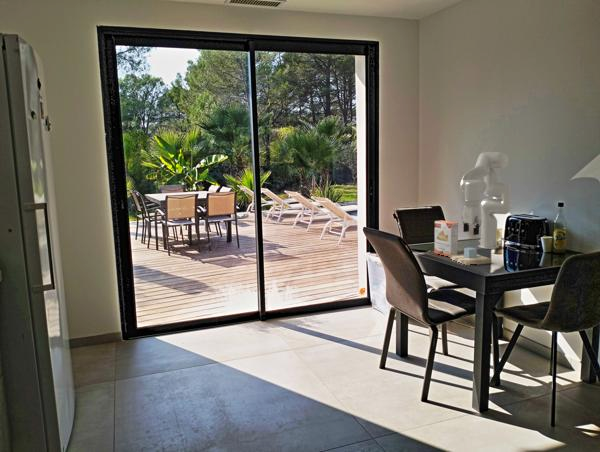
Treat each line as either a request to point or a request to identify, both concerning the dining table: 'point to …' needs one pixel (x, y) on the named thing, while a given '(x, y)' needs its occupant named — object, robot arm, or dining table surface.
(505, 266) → the dining table surface
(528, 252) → the dining table surface
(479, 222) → the robot arm
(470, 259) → the birch base
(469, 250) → the slate block
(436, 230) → the cracker box
